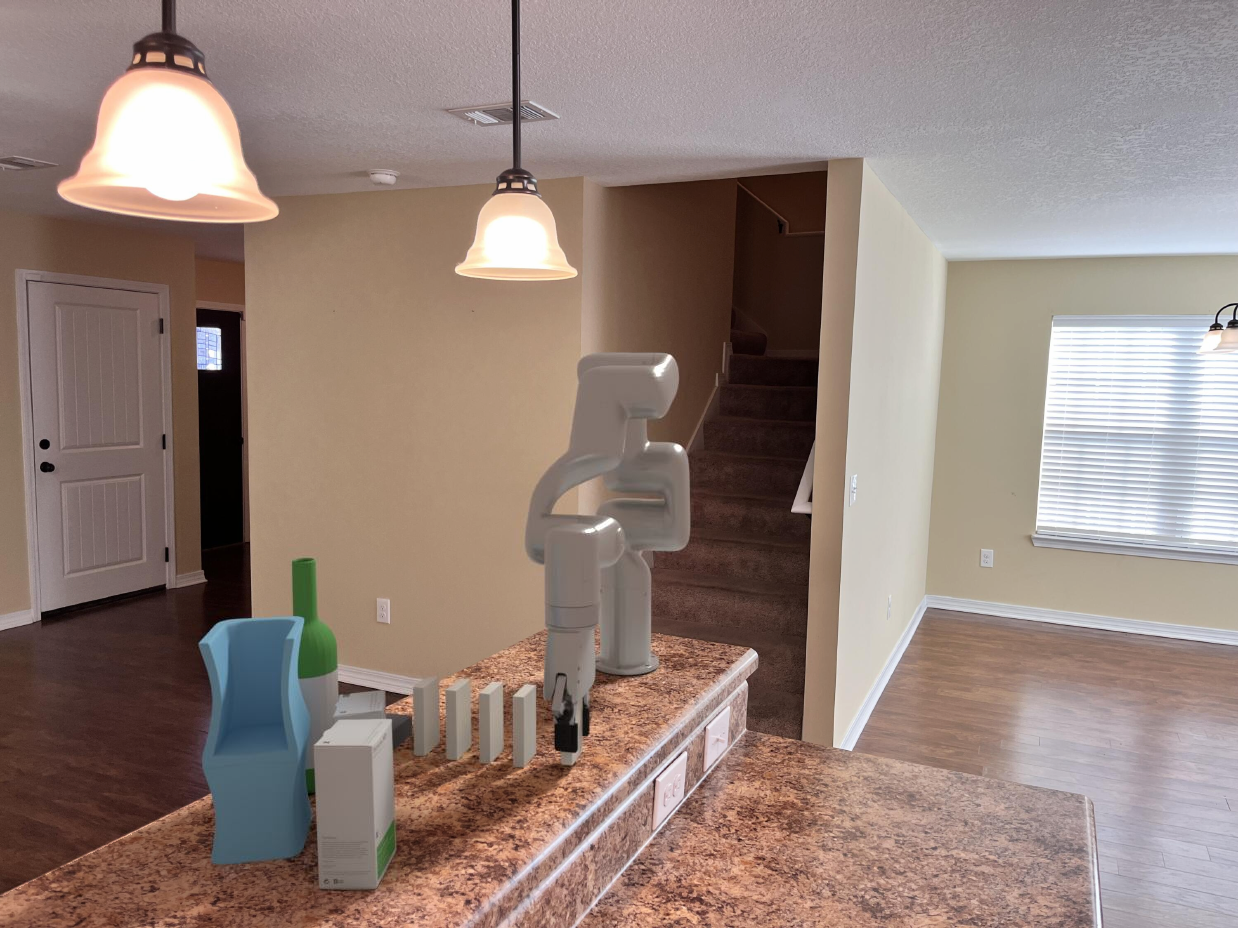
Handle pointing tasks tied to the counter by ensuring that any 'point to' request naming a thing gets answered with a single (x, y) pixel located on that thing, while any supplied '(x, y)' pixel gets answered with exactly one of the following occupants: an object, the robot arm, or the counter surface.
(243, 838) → the blue chair
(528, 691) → the domino
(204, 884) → the counter surface
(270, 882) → the counter surface
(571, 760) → the domino
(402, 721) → the block
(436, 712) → the domino
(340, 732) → the skincare box
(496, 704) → the domino
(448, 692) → the domino
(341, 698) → the skincare box
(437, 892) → the counter surface
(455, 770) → the counter surface
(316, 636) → the wine bottle
